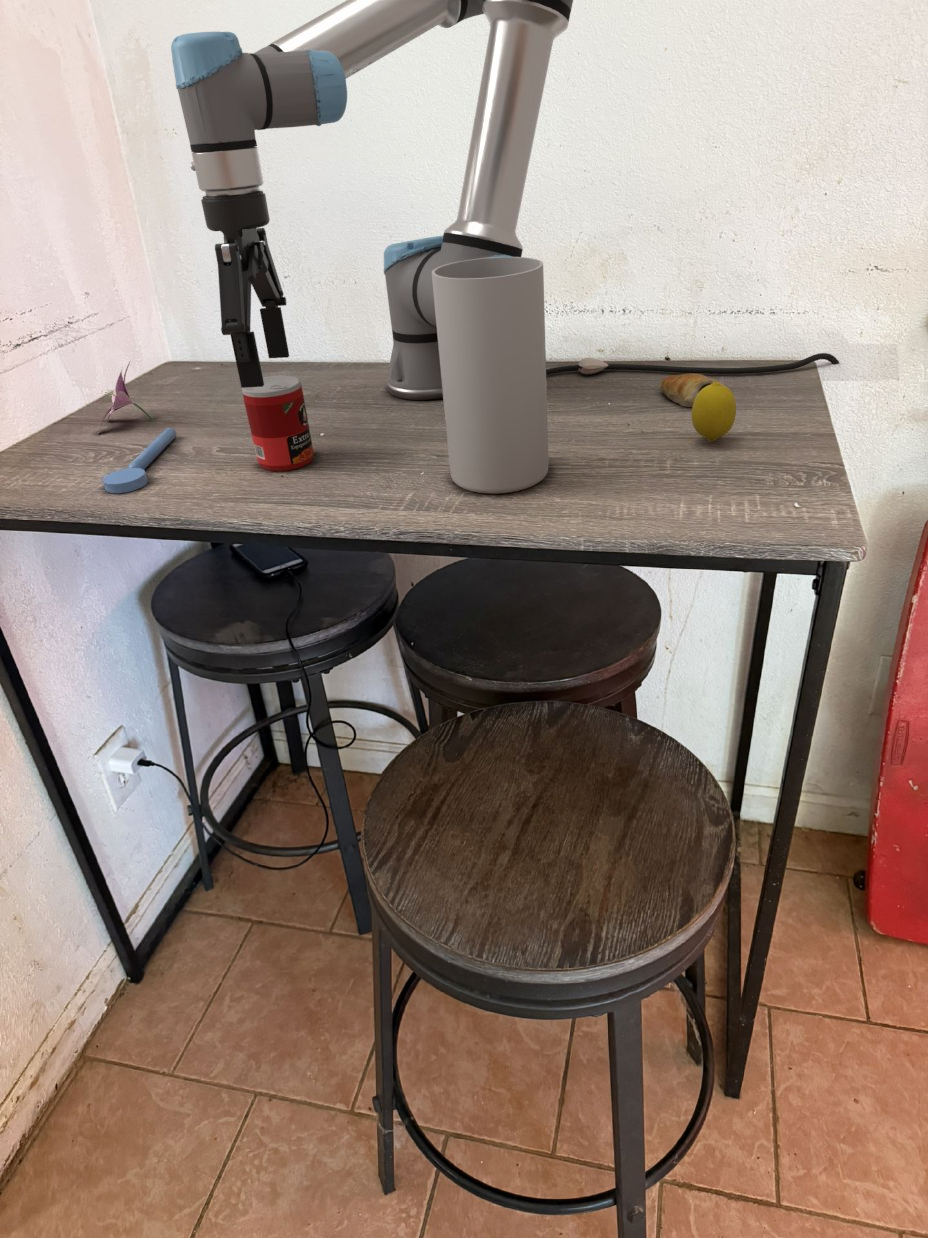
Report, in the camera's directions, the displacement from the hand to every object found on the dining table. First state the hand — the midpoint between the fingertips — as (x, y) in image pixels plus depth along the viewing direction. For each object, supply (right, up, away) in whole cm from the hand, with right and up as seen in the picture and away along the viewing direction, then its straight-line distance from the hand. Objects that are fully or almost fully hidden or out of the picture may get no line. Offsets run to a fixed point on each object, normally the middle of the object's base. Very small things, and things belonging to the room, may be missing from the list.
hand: (266, 371), depth 111 cm
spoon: (-20, -10, +10) cm, 24 cm away
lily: (-30, -1, +27) cm, 40 cm away
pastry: (+60, 0, +16) cm, 62 cm away
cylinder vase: (+31, -15, -3) cm, 34 cm away
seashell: (+48, +8, +31) cm, 57 cm away
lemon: (+59, -9, +1) cm, 60 cm away
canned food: (+1, -11, +7) cm, 13 cm away
